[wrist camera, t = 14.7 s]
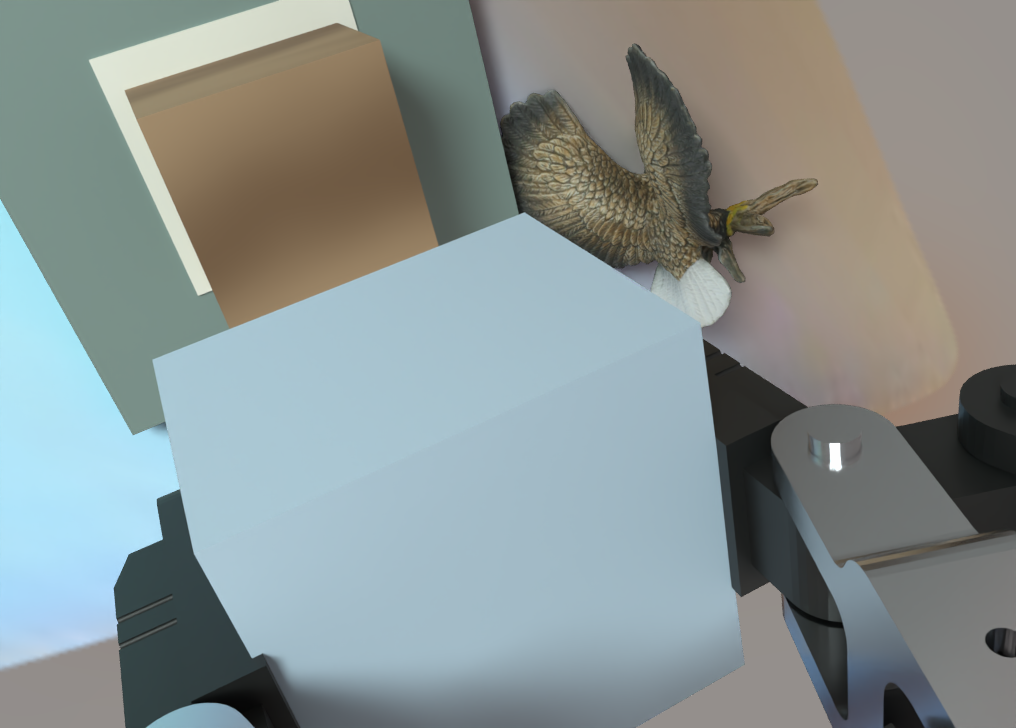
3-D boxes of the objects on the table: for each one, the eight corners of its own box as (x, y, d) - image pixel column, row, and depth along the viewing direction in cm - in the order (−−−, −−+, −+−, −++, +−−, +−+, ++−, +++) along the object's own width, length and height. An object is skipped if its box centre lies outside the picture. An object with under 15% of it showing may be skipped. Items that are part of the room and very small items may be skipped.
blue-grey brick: (151, 359, 11) (194, 553, 7) (523, 212, 12) (700, 322, 9) (296, 641, 13) (373, 878, 10) (590, 496, 15) (744, 665, 11)
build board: (-129, -48, 21) (-138, -46, 20) (408, -192, 25) (424, -196, 24) (130, 417, 29) (133, 436, 28) (516, 256, 32) (532, 268, 31)
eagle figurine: (777, 98, 33) (627, -24, 27) (855, 254, 30) (704, 156, 23) (620, 217, 37) (459, 135, 31) (673, 366, 34) (504, 307, 28)
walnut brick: (123, 90, 24) (135, 119, 20) (337, 22, 25) (379, 39, 22) (212, 288, 27) (234, 340, 24) (397, 217, 28) (442, 258, 25)
